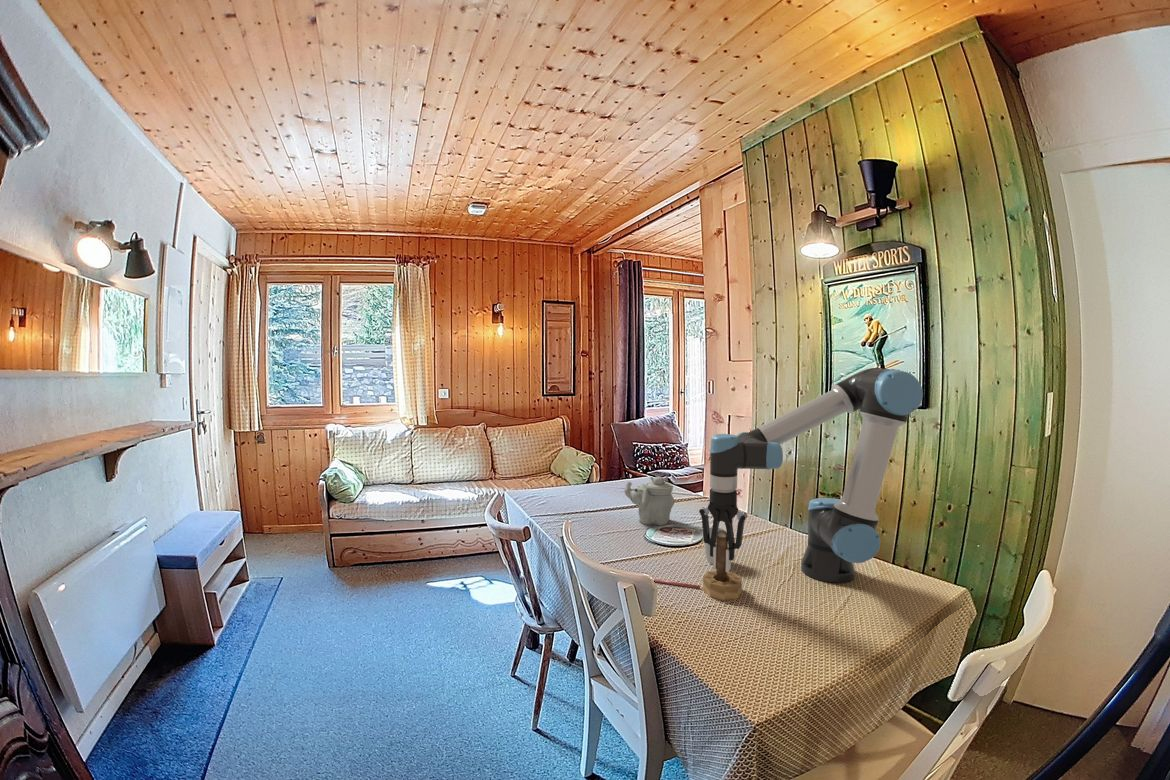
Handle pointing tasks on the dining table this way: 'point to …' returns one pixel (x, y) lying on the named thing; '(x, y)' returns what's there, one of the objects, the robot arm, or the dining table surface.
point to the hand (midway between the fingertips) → (721, 568)
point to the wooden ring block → (722, 586)
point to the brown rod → (721, 556)
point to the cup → (707, 547)
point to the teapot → (652, 500)
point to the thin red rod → (677, 583)
